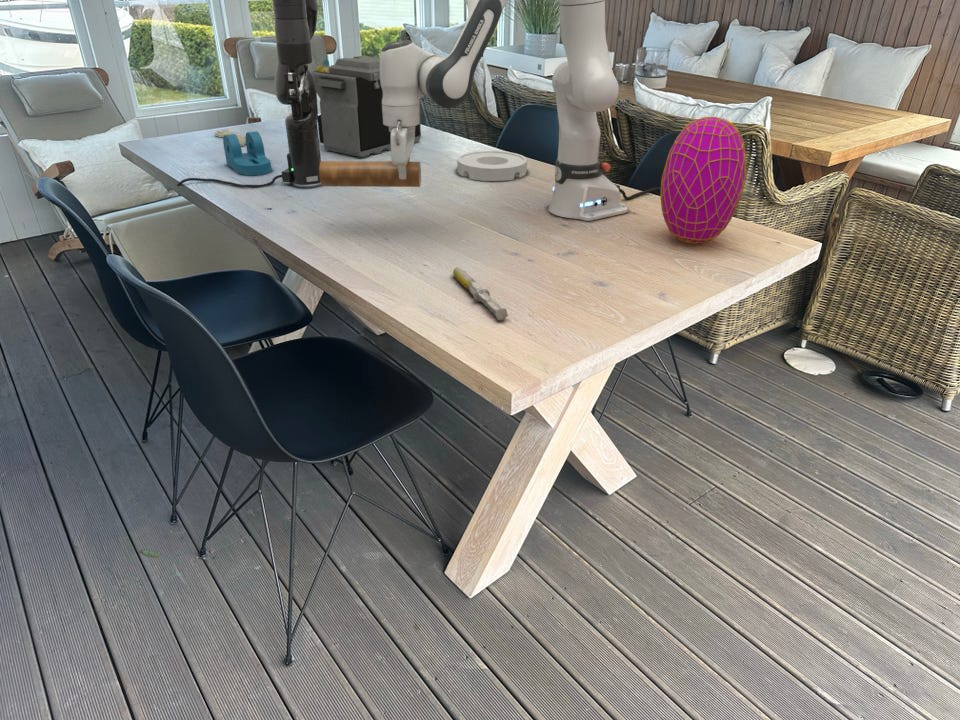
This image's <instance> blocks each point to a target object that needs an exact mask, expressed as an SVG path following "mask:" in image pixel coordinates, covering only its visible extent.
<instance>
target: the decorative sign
mask: <svg viewBox="0 0 960 720" xmlns="http://www.w3.org/2000/svg"><path fill="white" fill-rule="evenodd" d="M230 134H235V135H236V136H237V138H238V140H239V142H240V146H241V147H245V146H246V139H245V137H246V135H243V134H240V133H237V132H235V131H232V130H229V129H221V130H219V129H218V130H217V131H216V132H214V136H215V137H218V138H223V137H224V135H230Z"/></svg>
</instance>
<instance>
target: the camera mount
mask: <svg viewBox="0 0 960 720" xmlns="http://www.w3.org/2000/svg"><path fill="white" fill-rule="evenodd" d="M245 136H246V137H245V139H246V144H245V146H246V152H243V151H242V150H243V149H242V146H240V142H239V140H238V138H237V136H236V135H235V134H230V135H224V137H222V140H223V141H222V143H223V149H224V150H223V151H224V156H225V161H226V165H227V166H228V167H230V168H231V169H232V170H234V171H236V172H237V173H238V174H239V175H244V176H260V175H265V174H268V173H271V172H272V164H271V159H270V158H268V157H267V156H266V153H265V145H264V141H263V139H262V136H261V134H260V132H258V131H247V132H246V133H245Z"/></svg>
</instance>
